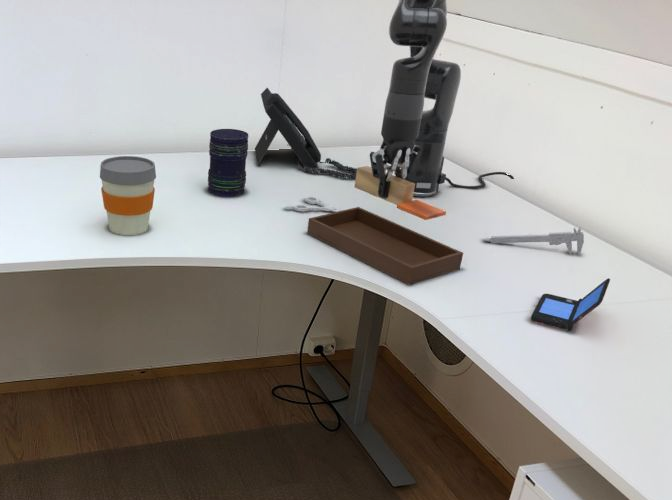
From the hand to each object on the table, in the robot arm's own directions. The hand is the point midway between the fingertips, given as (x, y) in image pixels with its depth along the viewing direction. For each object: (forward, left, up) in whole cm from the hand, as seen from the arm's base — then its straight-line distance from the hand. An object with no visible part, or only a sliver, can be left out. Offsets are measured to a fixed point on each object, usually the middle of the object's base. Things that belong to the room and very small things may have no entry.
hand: (389, 195), depth 169 cm
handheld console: (-8, +41, -13) cm, 44 cm away
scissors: (-7, -24, -13) cm, 28 cm away
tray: (0, 0, -13) cm, 13 cm away
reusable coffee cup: (+42, -39, -13) cm, 59 cm away
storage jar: (+7, -49, -13) cm, 51 cm away
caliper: (-32, +16, -13) cm, 38 cm away
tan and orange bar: (0, +2, -1) cm, 2 cm away
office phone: (-28, -58, -13) cm, 66 cm away
